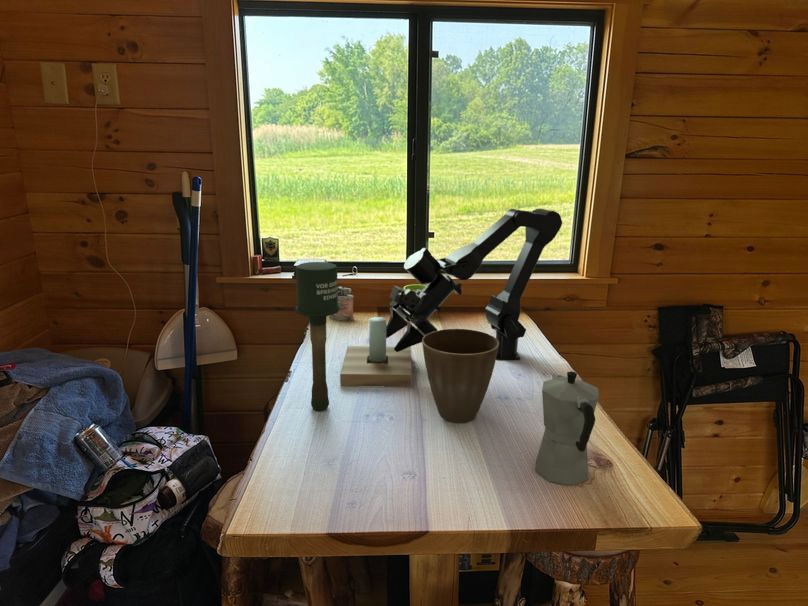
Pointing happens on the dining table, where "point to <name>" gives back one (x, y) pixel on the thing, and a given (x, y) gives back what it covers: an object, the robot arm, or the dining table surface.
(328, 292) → the potato masher grenade
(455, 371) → the plant pot
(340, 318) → the lighter
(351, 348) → the board
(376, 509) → the dining table surface
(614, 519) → the dining table surface
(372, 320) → the peg
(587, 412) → the coffeepot
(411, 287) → the plant pot
